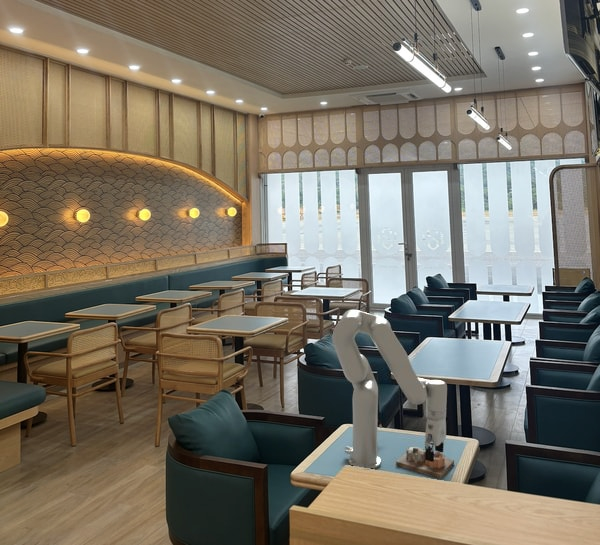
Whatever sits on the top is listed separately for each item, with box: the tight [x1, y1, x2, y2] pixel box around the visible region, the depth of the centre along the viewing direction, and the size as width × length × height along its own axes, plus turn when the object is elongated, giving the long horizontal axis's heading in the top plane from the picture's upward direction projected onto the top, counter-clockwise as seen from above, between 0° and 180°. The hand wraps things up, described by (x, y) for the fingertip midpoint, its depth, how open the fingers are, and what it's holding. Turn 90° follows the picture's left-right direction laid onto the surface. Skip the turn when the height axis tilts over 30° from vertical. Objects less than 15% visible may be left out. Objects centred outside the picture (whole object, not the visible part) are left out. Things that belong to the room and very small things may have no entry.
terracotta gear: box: [426, 451, 446, 468], centre depth 201 cm, size 7×7×3 cm
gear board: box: [395, 446, 455, 479], centre depth 203 cm, size 18×14×6 cm
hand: (434, 456), depth 201 cm, fingers open, 9 cm apart
